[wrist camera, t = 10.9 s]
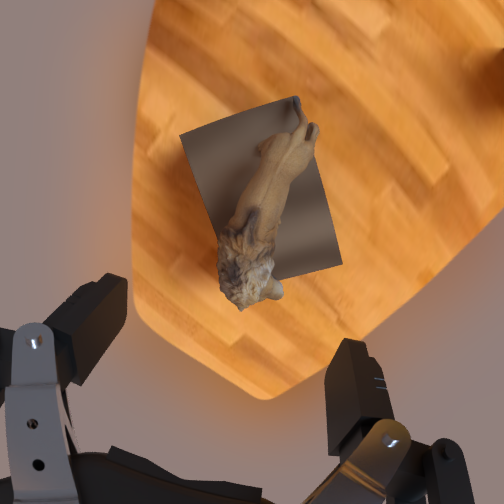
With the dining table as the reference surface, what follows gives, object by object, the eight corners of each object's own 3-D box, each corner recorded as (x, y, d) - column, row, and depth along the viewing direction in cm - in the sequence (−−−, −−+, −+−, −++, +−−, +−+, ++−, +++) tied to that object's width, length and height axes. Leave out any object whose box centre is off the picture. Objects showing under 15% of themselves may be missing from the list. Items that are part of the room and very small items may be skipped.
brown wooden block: (203, 132, 32) (179, 135, 25) (293, 102, 30) (294, 95, 23) (248, 256, 37) (237, 290, 30) (332, 233, 35) (342, 264, 28)
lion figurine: (282, 268, 28) (276, 329, 20) (224, 254, 29) (197, 309, 20) (326, 104, 22) (345, 95, 14) (260, 88, 23) (244, 70, 14)
